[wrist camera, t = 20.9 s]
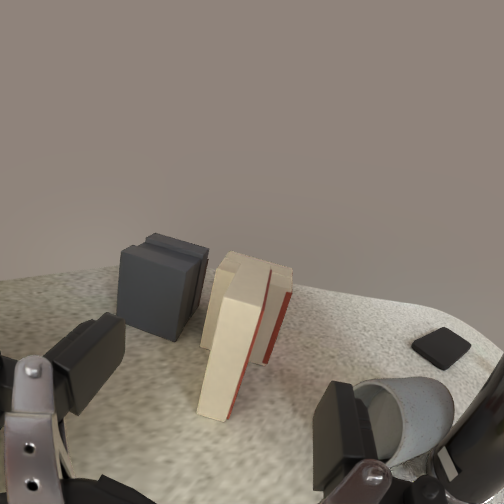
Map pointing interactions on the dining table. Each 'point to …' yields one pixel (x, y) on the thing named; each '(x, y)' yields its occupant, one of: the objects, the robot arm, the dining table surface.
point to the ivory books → (272, 314)
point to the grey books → (161, 284)
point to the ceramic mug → (406, 415)
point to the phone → (442, 347)
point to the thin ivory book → (234, 338)
